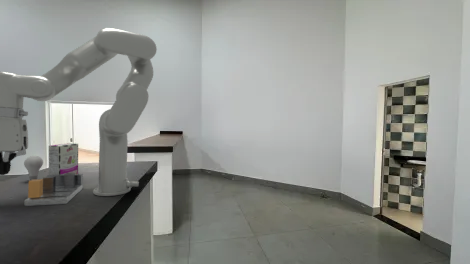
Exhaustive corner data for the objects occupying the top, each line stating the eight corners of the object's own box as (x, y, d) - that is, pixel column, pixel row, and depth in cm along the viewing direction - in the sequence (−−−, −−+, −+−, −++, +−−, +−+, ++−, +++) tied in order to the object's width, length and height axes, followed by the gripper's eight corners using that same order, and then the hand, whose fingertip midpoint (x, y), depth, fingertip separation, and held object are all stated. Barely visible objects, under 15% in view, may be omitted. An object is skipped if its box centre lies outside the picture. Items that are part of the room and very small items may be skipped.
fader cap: (42, 195, 76) (42, 179, 76) (39, 197, 74) (39, 180, 74) (32, 195, 75) (32, 179, 75) (28, 197, 73) (28, 181, 73)
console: (82, 188, 93) (83, 170, 93) (66, 203, 76) (67, 181, 76) (49, 189, 89) (49, 171, 89) (24, 206, 72) (24, 183, 72)
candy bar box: (67, 179, 105) (68, 142, 105) (78, 180, 105) (79, 143, 105) (47, 186, 94) (47, 145, 94) (59, 186, 94) (60, 145, 93)
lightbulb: (21, 183, 95) (21, 156, 95) (27, 180, 101) (27, 154, 101) (39, 182, 98) (40, 156, 97) (44, 179, 103) (45, 154, 103)
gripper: (41, 116, 77) (38, 172, 77) (-18, 112, 72) (-22, 171, 73) (30, 115, 70) (26, 176, 70) (-37, 111, 65) (-40, 177, 65)
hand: (2, 174), depth 71 cm, fingers closed
